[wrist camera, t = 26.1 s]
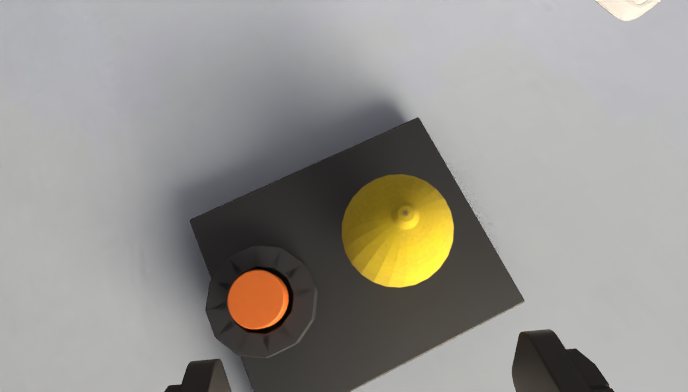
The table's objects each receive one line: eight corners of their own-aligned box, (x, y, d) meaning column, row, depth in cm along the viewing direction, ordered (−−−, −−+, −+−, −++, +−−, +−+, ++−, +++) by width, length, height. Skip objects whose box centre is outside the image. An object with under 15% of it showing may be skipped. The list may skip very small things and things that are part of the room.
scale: (268, 427, 24) (255, 447, 20) (193, 228, 27) (170, 217, 24) (513, 302, 25) (538, 300, 22) (414, 128, 29) (422, 104, 25)
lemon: (412, 186, 26) (438, 133, 18) (450, 270, 24) (497, 251, 16) (329, 218, 25) (320, 177, 17) (363, 305, 24) (369, 303, 16)
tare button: (246, 337, 22) (239, 339, 21) (227, 286, 23) (218, 284, 21) (297, 313, 22) (293, 313, 21) (276, 263, 23) (271, 259, 22)
